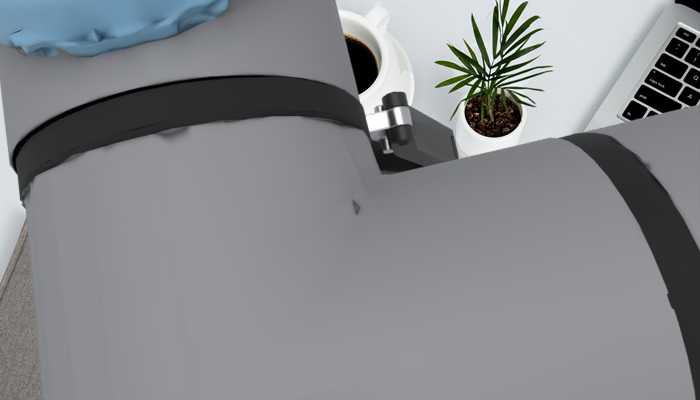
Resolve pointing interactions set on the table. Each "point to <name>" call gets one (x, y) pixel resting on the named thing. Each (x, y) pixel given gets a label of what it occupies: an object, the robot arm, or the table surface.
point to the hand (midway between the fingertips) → (307, 204)
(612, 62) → the table surface
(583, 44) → the table surface
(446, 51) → the table surface
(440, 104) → the table surface
